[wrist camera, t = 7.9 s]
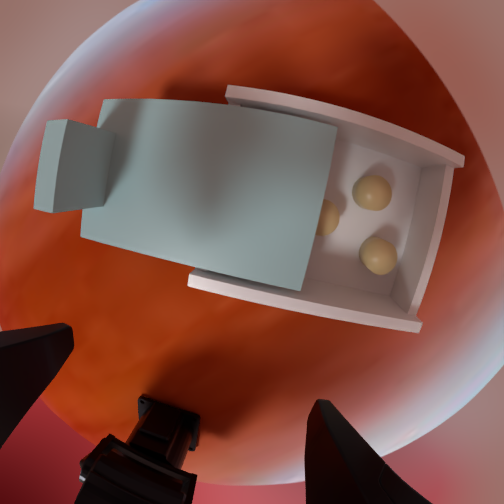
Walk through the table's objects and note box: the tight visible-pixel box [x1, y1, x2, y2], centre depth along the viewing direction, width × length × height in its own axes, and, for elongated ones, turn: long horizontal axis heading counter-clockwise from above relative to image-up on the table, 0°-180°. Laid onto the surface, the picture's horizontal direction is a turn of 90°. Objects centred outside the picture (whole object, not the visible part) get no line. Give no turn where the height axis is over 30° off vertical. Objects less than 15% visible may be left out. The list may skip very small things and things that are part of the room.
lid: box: [34, 99, 338, 291], centre depth 12 cm, size 9×14×5 cm, turn 78°
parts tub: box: [188, 85, 465, 333], centre depth 16 cm, size 11×14×5 cm
